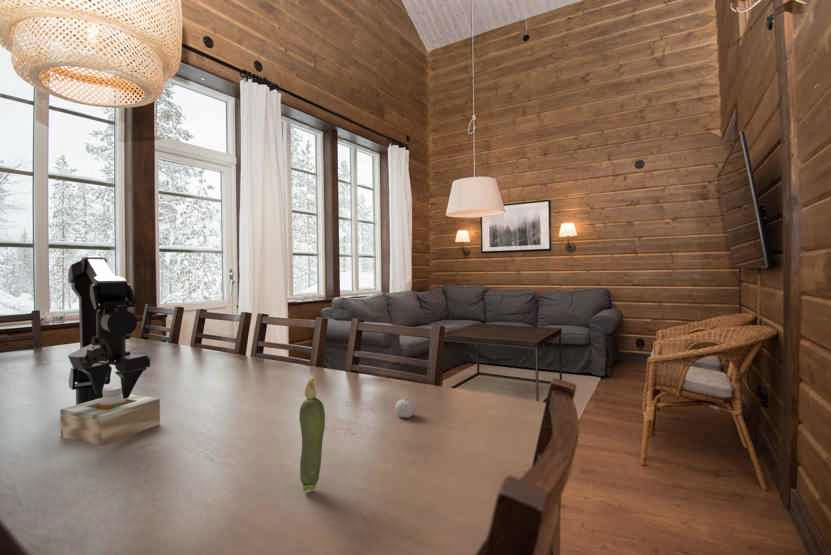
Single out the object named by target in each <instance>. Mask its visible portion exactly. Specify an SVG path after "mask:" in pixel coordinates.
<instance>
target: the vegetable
mask: <svg viewBox="0 0 831 555" xmlns="http://www.w3.org/2000/svg"><path fill="white" fill-rule="evenodd" d="M317 394H318V393H317V389H316V384H315V378H310V379H309V380H308V383H307V384H306V386H305V388H304V396H305V398H306V399H305V400H303V402H302V404H301V406H300V409H299V425H300V432H301V456H300V460H299V461H300V463H299V468H300V469H299V476H300V481H301V484H302V490H303V492H304V491H306V490H312V489H315V490H316V487H317V483H318V482H319V479H320V472H321V465H322V450H323V438H324V434H325V428H326V427H325V426H326V425H325V424H326V412H325V406H324V403H323V402H322V400H321V399H319V398H317ZM312 491H313V490H312ZM306 492H307V491H306Z"/></svg>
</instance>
